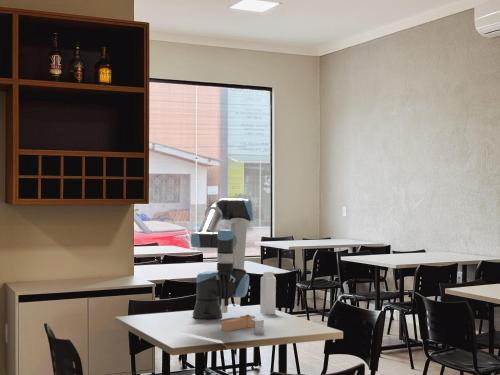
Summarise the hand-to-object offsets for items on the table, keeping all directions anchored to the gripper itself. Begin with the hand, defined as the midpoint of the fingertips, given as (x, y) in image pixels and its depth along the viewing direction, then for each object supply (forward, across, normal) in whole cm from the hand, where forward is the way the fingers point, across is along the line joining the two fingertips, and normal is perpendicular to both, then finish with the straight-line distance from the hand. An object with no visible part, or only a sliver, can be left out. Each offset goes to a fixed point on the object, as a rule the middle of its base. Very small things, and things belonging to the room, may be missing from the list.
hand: (224, 312), depth 328 cm
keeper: (+7, +20, +1) cm, 21 cm away
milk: (+7, -13, +46) cm, 48 cm away
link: (+6, +7, +2) cm, 10 cm away
